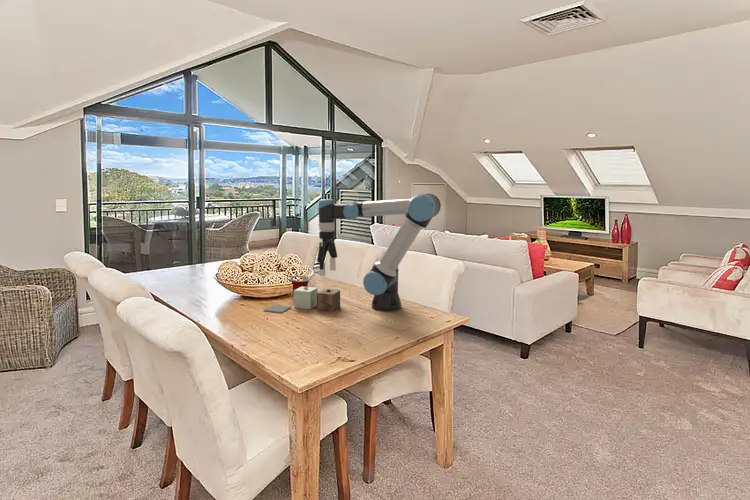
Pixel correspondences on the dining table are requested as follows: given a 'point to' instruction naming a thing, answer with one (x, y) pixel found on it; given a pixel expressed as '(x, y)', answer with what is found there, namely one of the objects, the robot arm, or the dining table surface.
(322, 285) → the dining table surface
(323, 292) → the walnut cover
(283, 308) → the grey square plate
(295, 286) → the plastic cup
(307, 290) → the sage cover
